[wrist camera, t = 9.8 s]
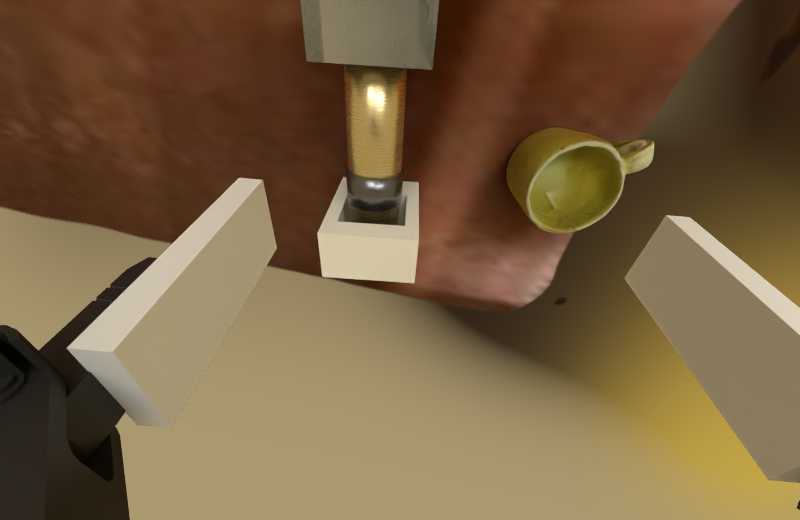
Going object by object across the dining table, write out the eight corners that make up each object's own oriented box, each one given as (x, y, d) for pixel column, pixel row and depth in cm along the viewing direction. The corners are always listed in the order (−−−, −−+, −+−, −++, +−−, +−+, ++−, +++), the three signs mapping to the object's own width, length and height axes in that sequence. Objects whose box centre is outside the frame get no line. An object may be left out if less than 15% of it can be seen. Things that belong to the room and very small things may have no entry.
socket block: (343, 177, 39) (317, 233, 29) (418, 182, 39) (418, 240, 29) (345, 214, 42) (322, 276, 32) (415, 218, 42) (414, 283, 32)
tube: (346, 23, 27) (332, 26, 22) (412, 28, 27) (411, 31, 22) (353, 210, 37) (344, 236, 33) (401, 213, 37) (398, 240, 33)
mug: (502, 230, 40) (541, 250, 31) (486, 144, 37) (524, 138, 28) (600, 202, 40) (669, 214, 31) (591, 114, 37) (665, 97, 28)
